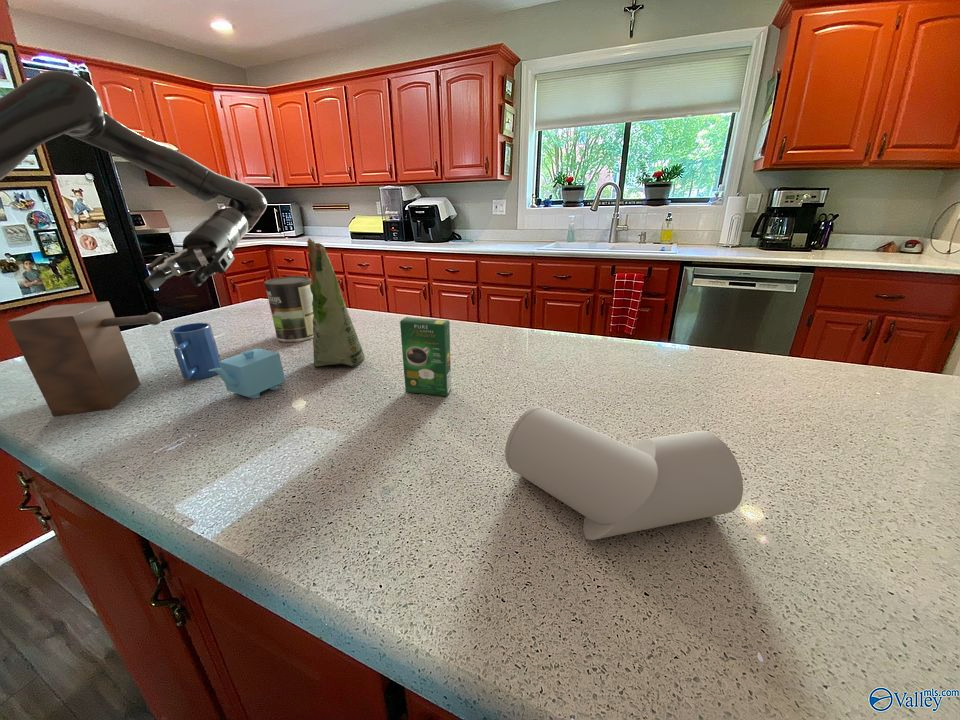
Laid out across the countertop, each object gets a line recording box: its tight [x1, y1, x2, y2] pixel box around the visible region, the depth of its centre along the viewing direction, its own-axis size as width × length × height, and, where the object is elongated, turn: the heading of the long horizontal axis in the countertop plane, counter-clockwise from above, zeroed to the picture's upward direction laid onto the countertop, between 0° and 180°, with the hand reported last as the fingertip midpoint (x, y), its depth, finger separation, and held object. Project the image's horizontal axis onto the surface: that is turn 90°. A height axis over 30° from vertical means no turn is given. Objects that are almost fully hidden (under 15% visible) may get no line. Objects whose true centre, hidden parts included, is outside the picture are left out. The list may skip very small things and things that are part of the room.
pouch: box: [306, 237, 366, 368], centre depth 78 cm, size 11×12×25 cm
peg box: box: [6, 300, 163, 417], centre depth 67 cm, size 16×10×16 cm, turn 107°
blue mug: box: [169, 322, 222, 381], centre depth 75 cm, size 11×6×10 cm, turn 17°
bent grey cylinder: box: [504, 406, 744, 541], centre depth 43 cm, size 18×10×20 cm
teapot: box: [209, 347, 286, 400], centre depth 69 cm, size 12×6×8 cm, turn 153°
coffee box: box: [399, 316, 452, 397], centre depth 67 cm, size 8×3×13 cm, turn 76°
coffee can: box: [263, 275, 314, 343], centre depth 97 cm, size 10×10×14 cm
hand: (171, 284), depth 72 cm, fingers open, 8 cm apart
